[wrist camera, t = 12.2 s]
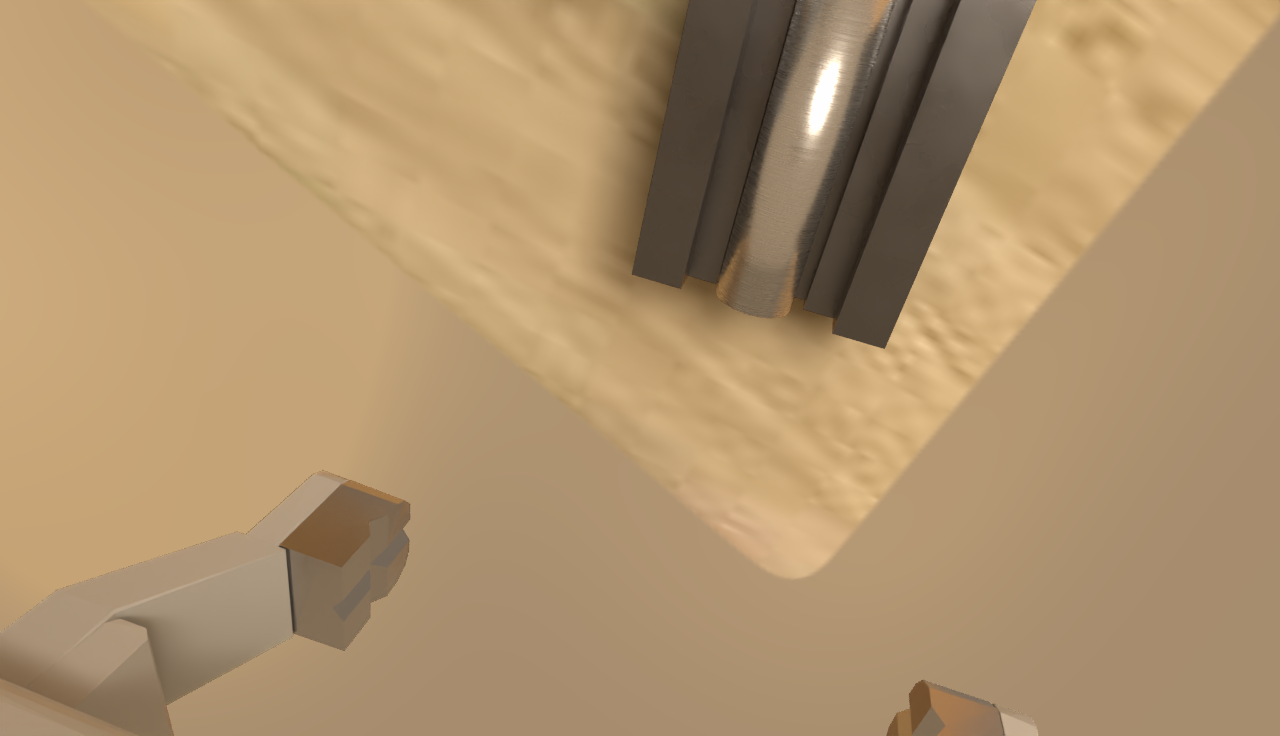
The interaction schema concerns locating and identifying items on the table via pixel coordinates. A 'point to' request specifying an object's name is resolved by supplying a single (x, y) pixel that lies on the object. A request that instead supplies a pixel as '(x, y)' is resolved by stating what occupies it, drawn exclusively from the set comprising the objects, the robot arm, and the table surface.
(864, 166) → the v block
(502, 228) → the table surface
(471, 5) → the table surface
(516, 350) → the table surface
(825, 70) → the axle
